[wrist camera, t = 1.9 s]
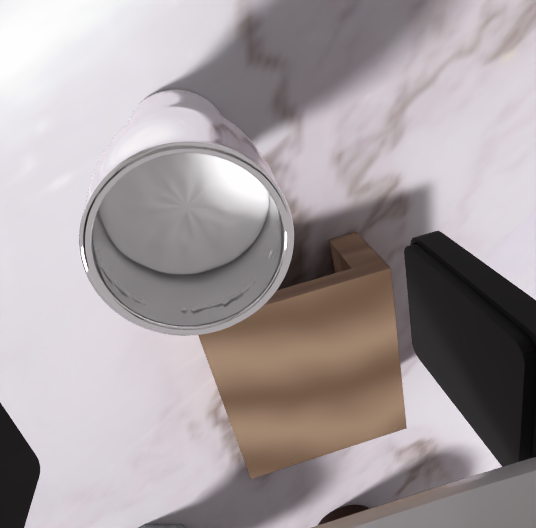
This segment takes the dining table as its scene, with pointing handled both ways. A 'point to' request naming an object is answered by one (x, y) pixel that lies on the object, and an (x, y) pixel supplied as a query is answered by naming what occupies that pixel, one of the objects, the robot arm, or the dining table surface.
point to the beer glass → (184, 220)
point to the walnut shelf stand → (313, 364)
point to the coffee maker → (162, 526)
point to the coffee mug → (342, 513)
